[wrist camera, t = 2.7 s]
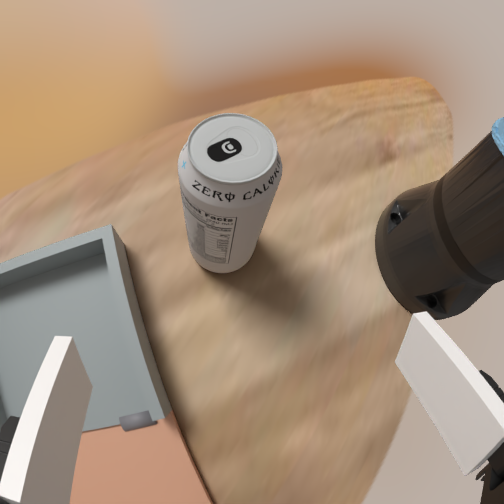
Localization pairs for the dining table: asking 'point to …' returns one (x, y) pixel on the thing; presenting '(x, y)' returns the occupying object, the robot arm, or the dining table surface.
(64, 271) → the hinged lid tray
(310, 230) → the dining table surface
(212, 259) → the energy drink can
